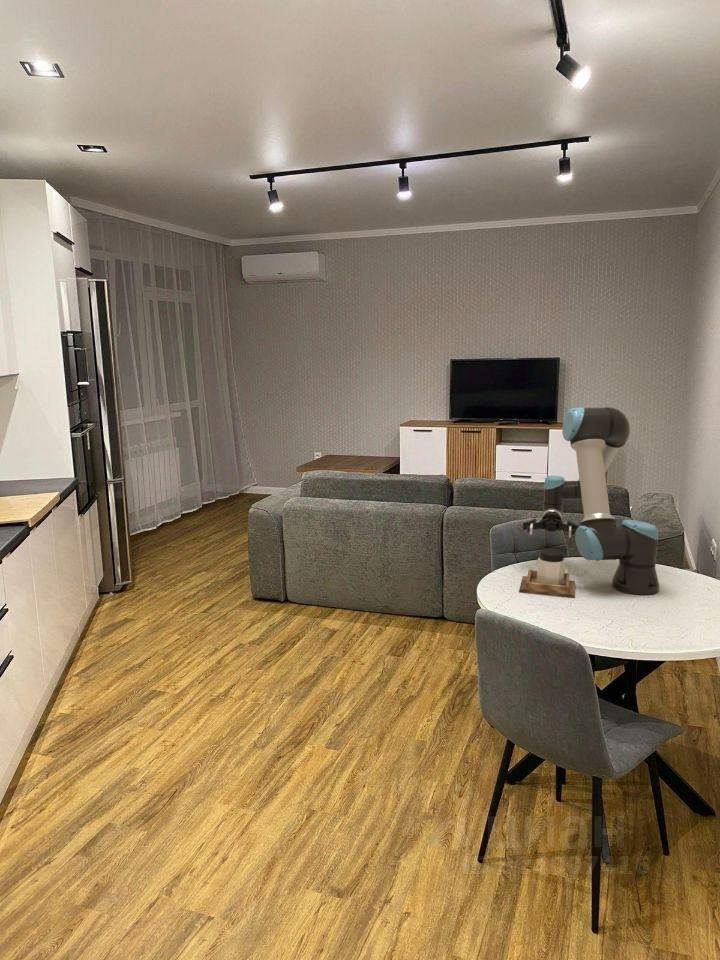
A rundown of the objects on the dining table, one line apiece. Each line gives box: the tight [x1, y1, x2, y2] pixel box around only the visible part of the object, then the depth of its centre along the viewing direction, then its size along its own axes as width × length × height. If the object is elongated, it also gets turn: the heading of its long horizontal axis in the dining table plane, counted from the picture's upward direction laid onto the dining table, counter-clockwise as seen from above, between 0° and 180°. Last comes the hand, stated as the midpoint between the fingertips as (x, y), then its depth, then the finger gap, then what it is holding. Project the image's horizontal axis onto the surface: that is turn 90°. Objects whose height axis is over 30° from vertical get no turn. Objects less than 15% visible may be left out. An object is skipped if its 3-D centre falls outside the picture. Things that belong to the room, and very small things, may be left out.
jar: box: [536, 547, 566, 586], centre depth 245 cm, size 9×8×12 cm
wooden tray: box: [518, 569, 576, 599], centre depth 246 cm, size 18×15×4 cm
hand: (550, 532), depth 256 cm, fingers open, 13 cm apart
